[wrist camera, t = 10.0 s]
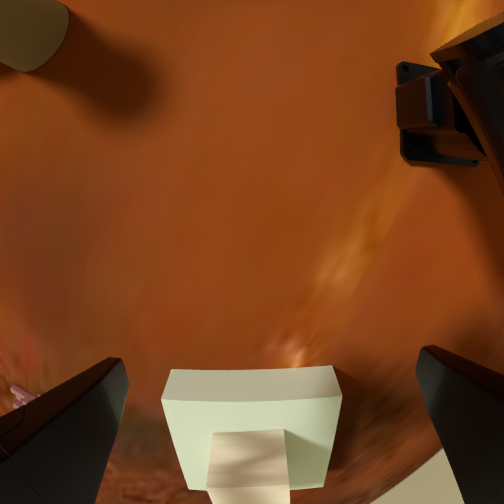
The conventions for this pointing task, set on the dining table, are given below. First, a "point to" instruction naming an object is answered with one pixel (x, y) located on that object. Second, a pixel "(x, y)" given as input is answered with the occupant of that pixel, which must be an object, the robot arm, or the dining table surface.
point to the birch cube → (248, 468)
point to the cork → (31, 32)
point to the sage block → (254, 416)
